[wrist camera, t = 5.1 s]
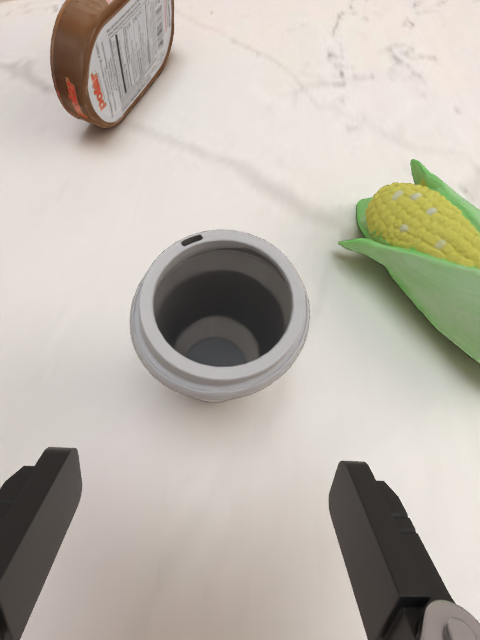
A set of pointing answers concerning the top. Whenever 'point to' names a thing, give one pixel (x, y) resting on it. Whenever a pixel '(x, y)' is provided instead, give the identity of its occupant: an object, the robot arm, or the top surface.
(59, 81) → the tin
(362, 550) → the robot arm
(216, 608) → the top surface
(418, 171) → the corn
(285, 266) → the cup
